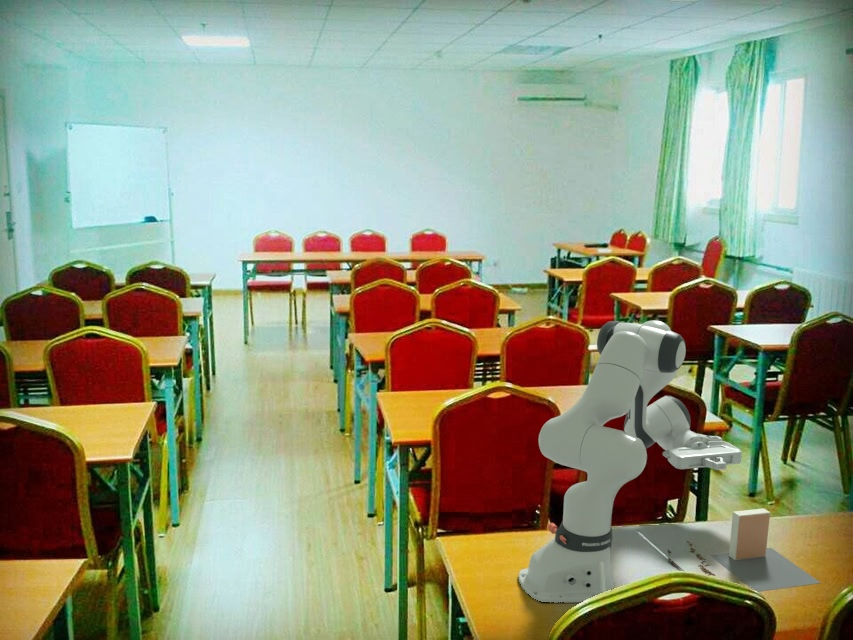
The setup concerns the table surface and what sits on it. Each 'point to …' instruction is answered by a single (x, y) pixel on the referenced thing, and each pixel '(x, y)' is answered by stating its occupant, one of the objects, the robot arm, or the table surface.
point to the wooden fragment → (698, 558)
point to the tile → (749, 534)
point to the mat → (766, 571)
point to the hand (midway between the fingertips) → (721, 467)
